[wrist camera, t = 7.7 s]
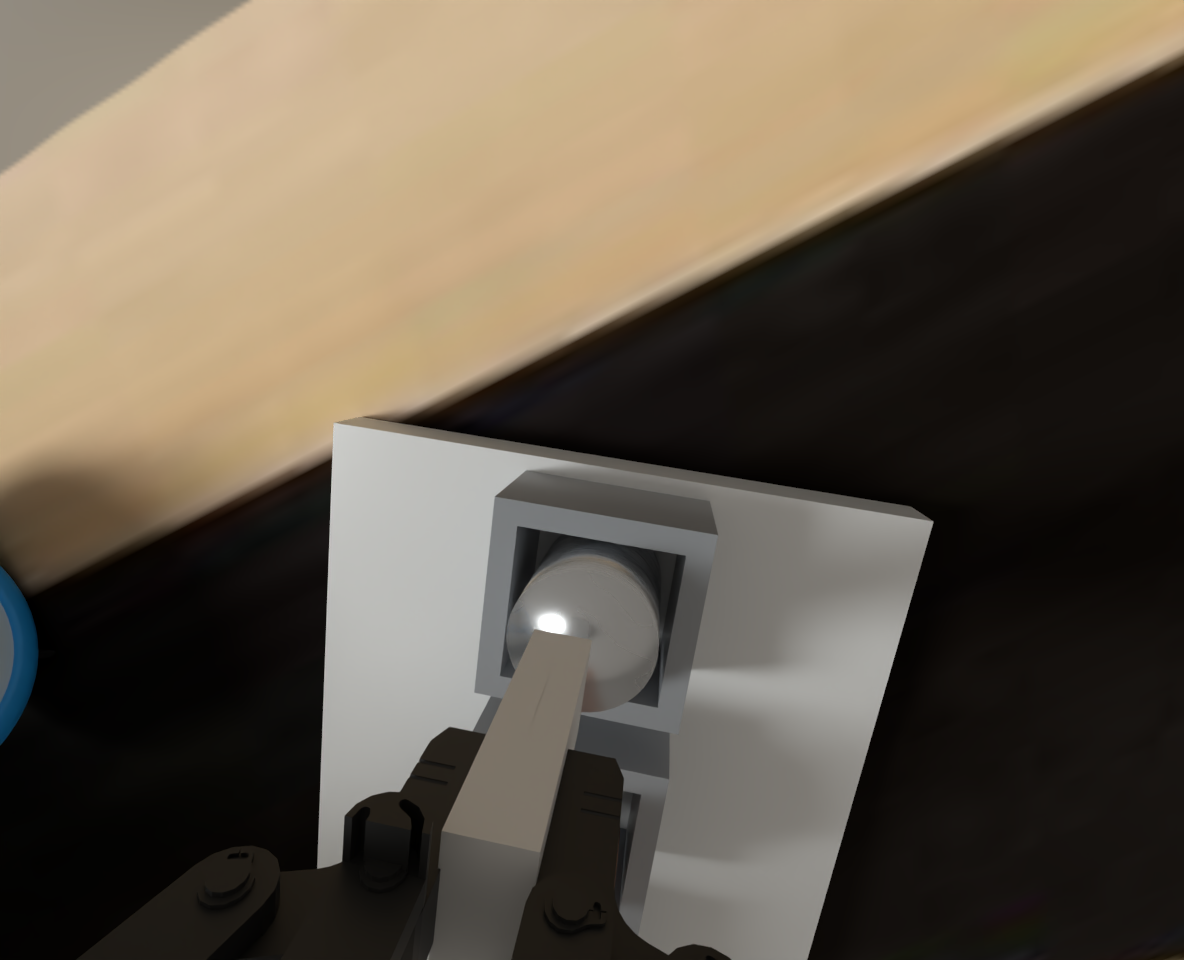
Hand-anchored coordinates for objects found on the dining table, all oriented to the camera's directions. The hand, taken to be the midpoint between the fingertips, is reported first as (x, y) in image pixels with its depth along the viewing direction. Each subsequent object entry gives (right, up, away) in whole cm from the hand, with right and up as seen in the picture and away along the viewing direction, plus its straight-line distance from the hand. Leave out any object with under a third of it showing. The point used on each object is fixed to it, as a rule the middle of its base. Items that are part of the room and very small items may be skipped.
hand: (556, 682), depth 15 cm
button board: (0, -6, +11) cm, 13 cm away
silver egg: (+1, +2, +7) cm, 7 cm away
